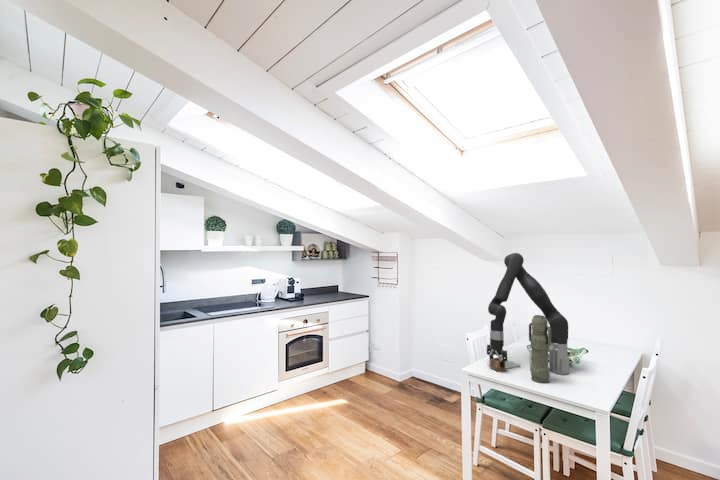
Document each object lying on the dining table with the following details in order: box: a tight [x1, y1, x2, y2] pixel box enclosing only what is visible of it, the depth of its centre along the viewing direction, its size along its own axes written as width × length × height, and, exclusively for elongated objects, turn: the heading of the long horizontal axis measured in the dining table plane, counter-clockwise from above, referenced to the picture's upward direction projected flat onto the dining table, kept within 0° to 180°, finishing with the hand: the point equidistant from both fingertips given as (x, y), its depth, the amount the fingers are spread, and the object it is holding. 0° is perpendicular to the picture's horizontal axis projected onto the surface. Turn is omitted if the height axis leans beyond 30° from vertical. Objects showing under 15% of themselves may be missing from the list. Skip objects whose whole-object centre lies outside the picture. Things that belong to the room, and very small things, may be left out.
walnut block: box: [489, 357, 506, 373], centre depth 203 cm, size 6×6×6 cm
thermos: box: [528, 314, 551, 384], centre depth 188 cm, size 9×12×35 cm
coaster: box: [505, 359, 521, 371], centre depth 211 cm, size 12×12×1 cm
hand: (496, 365), depth 204 cm, fingers open, 8 cm apart
